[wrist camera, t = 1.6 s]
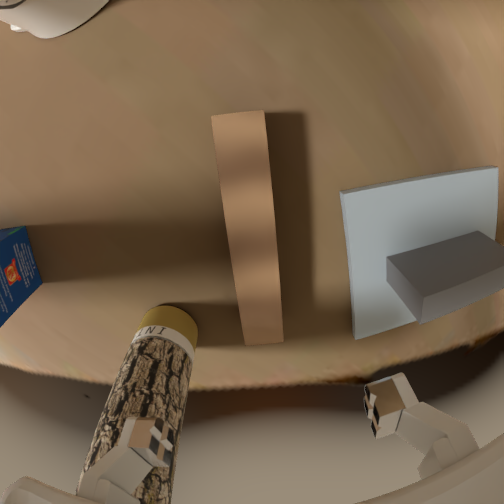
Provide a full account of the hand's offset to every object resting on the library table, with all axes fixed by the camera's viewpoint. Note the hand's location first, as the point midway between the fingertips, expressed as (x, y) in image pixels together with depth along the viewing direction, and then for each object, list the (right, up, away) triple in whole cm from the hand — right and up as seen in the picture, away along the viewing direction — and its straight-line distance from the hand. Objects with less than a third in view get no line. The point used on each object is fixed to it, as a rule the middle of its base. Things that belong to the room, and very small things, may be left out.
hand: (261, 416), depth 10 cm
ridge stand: (+21, +6, +19) cm, 29 cm away
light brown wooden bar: (0, +8, +18) cm, 20 cm away
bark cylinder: (-10, -2, +23) cm, 25 cm away
